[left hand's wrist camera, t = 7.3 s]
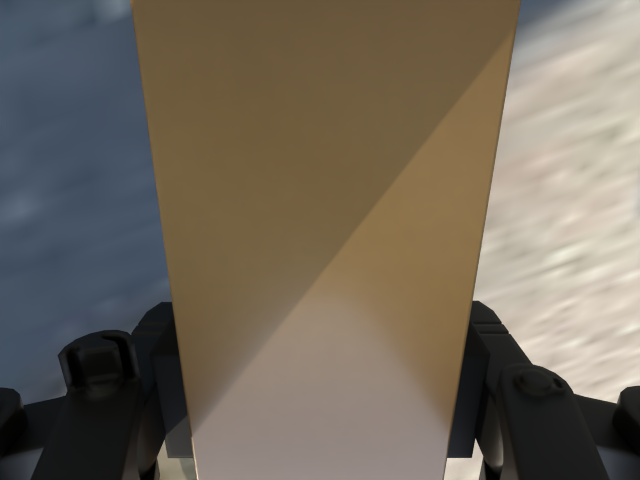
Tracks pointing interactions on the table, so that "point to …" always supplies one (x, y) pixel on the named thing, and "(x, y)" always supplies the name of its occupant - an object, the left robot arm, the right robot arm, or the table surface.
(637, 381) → the table surface
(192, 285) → the beam
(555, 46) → the table surface
